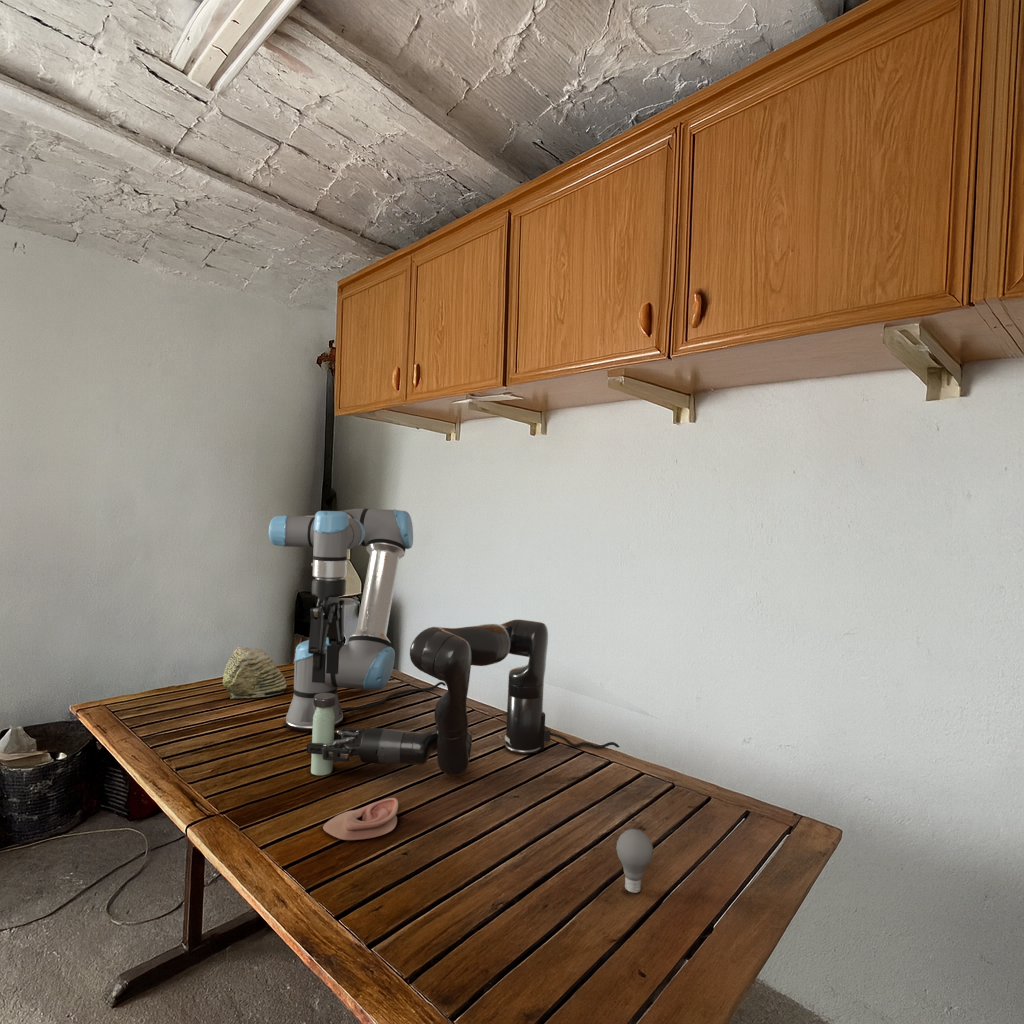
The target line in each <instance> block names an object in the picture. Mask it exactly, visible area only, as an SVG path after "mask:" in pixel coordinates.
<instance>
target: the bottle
mask: <svg viewBox="0 0 1024 1024" xmlns="http://www.w3.org/2000/svg"><path fill="white" fill-rule="evenodd" d="M334 722H335V716H334V712H333V708H332V707H328V708H318V707H317V708H316V711H315V713H314V715H313V732H311V734H312V735H311V743H324V744H327V743H333V742H334V732H335V728H334ZM329 752H330V751H329ZM332 756H333V755H332ZM310 762H311V763H310V764H311V765H310V773H311V774H312V775H314V776H326V775H327V776H328V775H329V774H331V773H332V772H333V770H334V761H332V760H323V754H311V761H310Z"/></svg>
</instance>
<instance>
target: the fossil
mask: <svg viewBox="0 0 1024 1024" xmlns="http://www.w3.org/2000/svg"><path fill="white" fill-rule="evenodd" d="M222 676H223V677H222V685H223V687H224V688H225V690H226V691H228V693H229V698H230V699H250V698H264V697H271V696H275V695H281V694H284V693H285V691H286V689H287V687H288V686H287V680H286V678H285V676H284V674H283V673H282V672H281V669H279V668H278V667H277V665H276V663H275V662H274V660H273V659H272V658H271V657H270V656H269V655H268V654H267V653H266V652H265V650H264V649H263V648H260V647H258V648H251V647H247V646H246V647H245V646H238V647H237V648H236V649H235V650H233V651H232V653H231V656H230V657H229V659H228V660H227V663H226V666H225V668H224V671H223V675H222Z"/></svg>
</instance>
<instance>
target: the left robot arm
mask: <svg viewBox="0 0 1024 1024" xmlns="http://www.w3.org/2000/svg"><path fill="white" fill-rule="evenodd" d="M268 538H269V541H270V543H271V544H272V545H274V546H277V547H278V546H279V547H284V548H285V547H291V548H292V547H293V548H312V550H313V554H312V555H313V556H312V562H311V565H310V566H311V567H312V577H313V579H312V580H311V595H312V596H313V597H317V603H316V607H311V608H310V611H309V612H310V625H309V626H310V627H309V636H308V639H307V640H304V641H302V642H300V643H298V644H297V645H296V647H295V654H294V659H293V661H294V670H293V671H294V672H293V695H292V696H293V697H292V699H291V702H290V704H289V708H288V711H287V713H286V715H285V726H286V728H287V729H289V730H291V731H294V732H295V731H296V732H301V733H312V732H313V715H314V713H315V711H316V708H317V707H315V706H314V696H315V695H316V694H319V693H332V694H335V705H334V706H332V708H333V712H334V716H335V722H334V729H335V728H337V727H339V726H340V725H342V723H343V722H344V714H343V711H344V712H345V711H357V710H364V709H369V708H373V707H377V706H380V705H382V704H384V703H385V702H387V700H389V699H390V698H391V699H392V698H393V697H395V696H399V695H403V694H409V693H415V692H424V691H432V690H434V689H436V688H438V687H439V686H441V685H442V686H445V687H447V685H446V683H445V682H444V681H438V682H437V683H436V684H434V685H433V686H430V687H422V688H421V687H420V688H411V689H406V690H400V691H397V692H394V693H391V694H389V695H387V696H386V697H384V698H383V699H382V700H380V701H377V702H374V703H371V704H366V705H360V706H350V707H349V706H348V707H347V706H346V707H342V706H341V702H340V699H339V695H338V688H340V689H355V690H356V689H357V690H365V691H370V690H382V689H383V688H385V687H386V686H387V684H388V683H389V681H390V680H391V679H390V678H391V677H392V673H393V671H394V666H395V658H396V653H395V651H396V650H395V649H394V648H393V647H392V646H391V641H390V639H389V638H388V637H387V634H388V627H389V621H390V615H391V610H392V609H391V608H392V603H393V597H394V591H395V585H396V578H397V573H398V566H399V561H400V559H402V558H403V557H404V556H405V554H406V550H409V549H412V548H413V544H414V526H413V520H412V516H411V515H410V513H409V512H408V511H406V510H400V509H382V508H381V509H380V508H351V509H344V510H318V511H317V512H316V513H315V514H314V515H276V516H274V517H272V518H271V520H270V522H269V525H268ZM358 546H359V547H365V550H366V552H367V553H368V555H369V560H368V565H367V570H366V575H365V581H364V586H363V592H362V596H361V603H360V608H359V613H358V617H357V624H356V629H355V632H354V633H353V634H351V635H350V636H348V641H347V644H344V642H345V641H344V639H345V633H344V632H345V631H344V630H345V628H344V627H345V626H344V625H345V624H344V622H345V621H344V617H345V615H344V613H345V612H344V611H345V610H344V609H345V600H344V599H340V598H341V597H343V596H345V595H346V591H347V580H346V579H345V578H346V577H347V575H348V573H347V572H348V571H347V570H348V550H352V549H355V548H357V547H358Z"/></svg>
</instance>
